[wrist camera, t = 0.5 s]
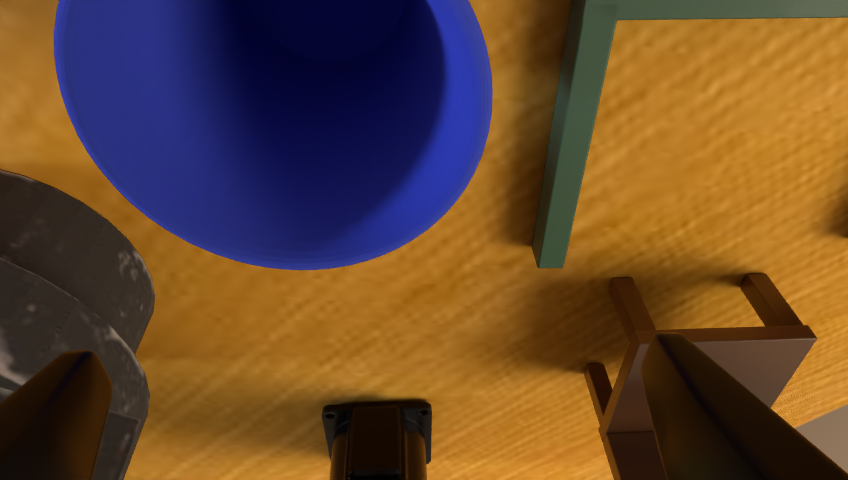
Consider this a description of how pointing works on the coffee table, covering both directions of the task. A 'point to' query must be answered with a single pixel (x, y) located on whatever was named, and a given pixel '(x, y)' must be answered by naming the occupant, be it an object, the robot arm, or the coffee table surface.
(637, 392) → the chair
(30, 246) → the lantern
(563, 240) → the bay
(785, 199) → the coffee table surface
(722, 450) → the robot arm
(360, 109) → the mug
